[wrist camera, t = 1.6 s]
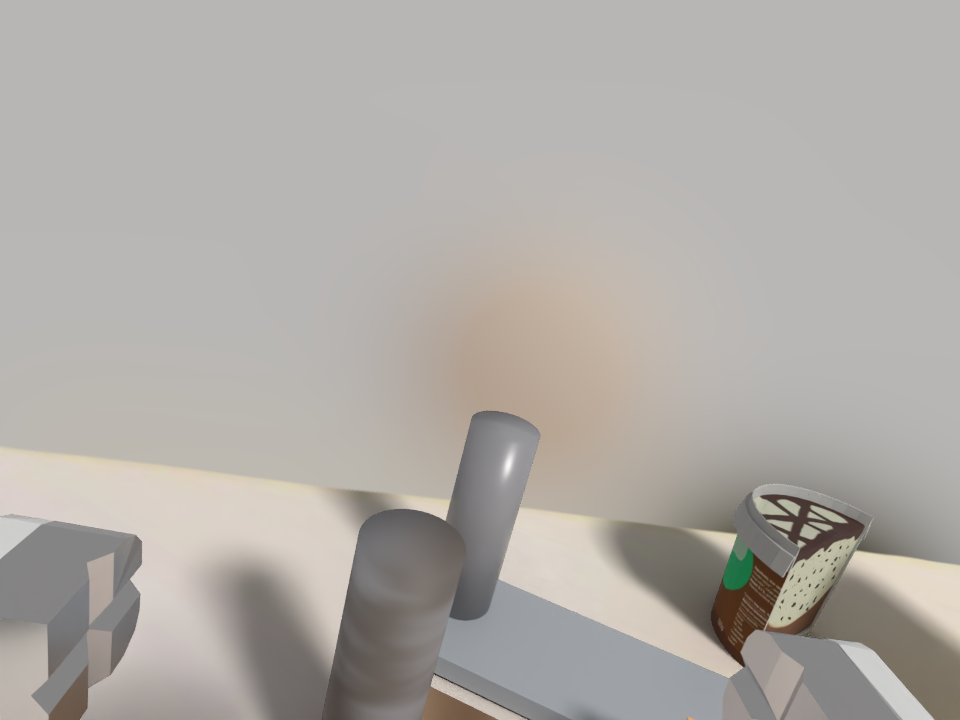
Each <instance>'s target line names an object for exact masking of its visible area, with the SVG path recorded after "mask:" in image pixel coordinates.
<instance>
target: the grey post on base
mask: <svg viewBox="0 0 960 720" xmlns="http://www.w3.org/2000/svg"><path fill="white" fill-rule="evenodd" d="M539 440H540V433H539V431H538V429H537V428H536V427H535V426H534V425H532V424H531V423H529V422H528V421H526V420H524V419H522V418H520V417H517V416H515V415H511V414H508V413H504V412H498V411H482V412H478V413H476V414H474V415H473V416H472V419H471V423H470V427H469V431H468V435H467V439H466V442H465V446H464V450H463V455H462V458H461V462H460V466H459V470H458V474H457V478H456V482H455V486H454V490H453V494H452V498H451V502H450V506H449V510H448V514H447V517H446V522H447V523H449V524H450V525H451V526H453V527H454V528H455V529H456V530H457V531H458V532H459V534H460V535H461V536H462V538H463V540H464V543H465V545H466V556H465V560H464V564H463V568H462V571H461V575H460V579H459V582H458V586H457V590H456V593H455V597H454V601H453V604H452V608H451V612H450V615H449V619H448V623H447V626H446V630H445V634H444V638H443V641H442V645H441V649H440V652H439V656H438V660H437V663H436V667H435V671H434V673H435V674H437V675H439V676H441V677H444V678H446V679H448V680H450V681H452V682H454V683H456V684H458V685H460V686H462V687H464V688H466V689H468V690H471V691H473V692H475V693H477V694H479V695H481V696H483V697H485V698H487V699H489V700H491V701H493V702H495V703H497V704H500V705H502V706H504V707H506V708H508V709H510V710H512V711H514V712H516V713H518V714H520V715H522V716H524V717H526V718H529V719H531V720H687V718H688V717H690V718H693V719H695V720H722V715H723V695H724V692H725V690H726V687H727V684H728V681H729V678H727V677H724V676H722V675H720V674H717V673H715V672H713V671H710V670H708V669H706V668H703V667H701V666H699V665H696V664H694V663H692V662H689V661H687V660H685V659H682V658H680V657H678V656H675V655H673V654H671V653H668V652H666V651H664V650H661V649H659V648H657V647H654V646H652V645H650V644H647V643H645V642H643V641H640V640H638V639H636V638H633V637H631V636H629V635H626V634H624V633H622V632H619V631H617V630H615V629H612V628H610V627H608V626H605V625H603V624H601V623H598V622H596V621H594V620H591V619H589V618H587V617H584V616H582V615H580V614H577V613H575V612H573V611H570V610H568V609H566V608H563V607H561V606H559V605H556V604H554V603H552V602H549V601H547V600H545V599H542V598H540V597H538V596H535V595H533V594H531V593H528V592H526V591H524V590H521V589H519V588H517V587H514V586H512V585H510V584H507V583H505V582H503V581H500V580H498V577H499V574H500V571H501V567H502V564H503V561H504V557H505V554H506V551H507V547H508V544H509V540H510V537H511V534H512V530H513V527H514V524H515V520H516V517H517V514H518V510H519V507H520V503H521V500H522V497H523V493H524V490H525V487H526V483H527V479H528V476H529V473H530V470H531V466H532V463H533V460H534V456H535V453H536V449H537V446H538V443H539Z"/></svg>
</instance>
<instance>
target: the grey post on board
mask: <svg viewBox="0 0 960 720" xmlns="http://www.w3.org/2000/svg"><path fill="white" fill-rule="evenodd" d="M465 556H466V545H465V543H464V540H463V538H462V536H461V535H460V534H459V532H458V531H457V530H456V529H455V528H454V527H453V526H451V525H450V524H449V523H447V522H446V521H444V520H442V519H441V518H439V517H436V516H434V515H431V514H429V513H425V512H422V511H417V510H410V509H394V510H388V511H383V512H380V513H378V514H375V515H373V516H372V517H370V518H369V519H368V520H366V521H365V522H364V524H363V525H362V527H361V528H360V531H359V535H358V540H357V545H356V550H355V555H354V560H353V565H352V570H351V575H350V580H349V585H348V590H347V595H346V600H345V605H344V610H343V615H342V620H341V625H340V630H339V635H338V640H337V645H336V650H335V655H334V660H333V665H332V670H331V675H330V680H329V685H328V690H327V695H326V700H325V705H324V710H323V715H322V720H498V719H496V718H494V717H491V716H489V715H487V714H485V713H483V712H481V711H479V710H477V709H475V708H473V707H471V706H469V705H467V704H465V703H463V702H461V701H459V700H457V699H455V698H453V697H451V696H449V695H447V694H444V693H442V692H440V691H438V690H436V689H434V688H432V687H430V685H431V682H432V678H433V674H434V671H435V667H436V663H437V660H438V656H439V652H440V649H441V645H442V641H443V638H444V634H445V630H446V626H447V623H448V619H449V615H450V612H451V608H452V604H453V601H454V597H455V593H456V590H457V586H458V582H459V579H460V575H461V571H462V568H463V564H464V560H465Z"/></svg>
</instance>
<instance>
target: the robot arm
mask: <svg viewBox="0 0 960 720" xmlns="http://www.w3.org/2000/svg"><path fill="white" fill-rule="evenodd" d="M141 564H142V541H141V540H140V539H139V538H138V537H137V536H136V535H133V534H127V533H122V532H116V531H110V530H104V529H99V528H93V527H87V526H81V525H76V524H70V523H64V522H58V521H49V520H45V519H38V518H32V517H26V516H20V515H14V514H10V515H5V516H0V720H79V719H80V718H81V717H82V715H83V714H84V712H85V711H86V709H87V702H88V688H89V687H91V686H92V685H94V684H96V683H98V682H99V681H101V680H103V679H105V678H106V677H108V676H110V675H111V673H112V672H113V670H114V669H115V667H116V666H117V664H118V663H119V661H120V660H121V658H122V657H123V655H124V653H125V651H126V649H127V647H128V644H129V642H130V640H131V638H132V635H133V633H134V631H135V627H136V623H137V618H138V614H139V607H140V593H139V591H138V590H137V589H136V587H135V586H134V584H133V583H132V582H131V580H130V578H131V577H132V576H133V574H134V573H135V572H136V571H137V569H138V568H139V567H140V566H141ZM741 655H742V658H743V660H744V663H745V667H744V668H743V669H741V670H740V671H739V672H737V673H736V674H734V675H733V676H732V677H730V679H729V681H728V684H727V687H726V690H725V692H724V695H723V715H722V720H934V719H933V717H932V716H931V715H930V714H929V713H928V712H927V711H926V709H925V708H924V707H923V706H922V705H921V704H920V703H919V702H918V700H917V699H916V698H915V697H914V696H913V695H912V694H911V692H910V691H909V690H908V689H907V688H906V687H905V686H904V685H903V683H902V682H901V681H900V680H899V679H898V678H897V677H896V675H895V674H894V673H893V672H892V671H891V670H890V669H889V668H888V666H887V665H886V664H885V663H884V662H883V661H882V660H881V658H880V657H879V656H878V655H877V654H876V653H875V652H874V651H873V650H872V649H870V648H868V647H867V646H865V645H863V644H862V643H858V642H850V641H842V640H834V639H817V638H811V637H804V636H797V635H790V634H783V633H776V632H769V631H763V630H755V631H754V632H753V633H752V634H750V635H749V636H748V637H747V639H746V641H745V643H744V646H743V648H742V650H741Z"/></svg>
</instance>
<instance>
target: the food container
mask: <svg viewBox="0 0 960 720" xmlns="http://www.w3.org/2000/svg"><path fill="white" fill-rule="evenodd" d="M872 520H873V516H871V515H869V514H867V513H865V512H863V511H861V510H859V509H857V508H855V507H853V506H851V505H849V504H847V503H844V502H842V501H840V500H837V499H835V498H832V497H829V496H826V495H824V494H821V493H817V492H815V491H811V490H808V489H804V488H800V487H796V486H790V485H783V484H767V485H762V486H760V487H757V488H756V489H755V490H754V491H753V492H751V493H750V494H748V495H747V496H746V498H745V499H744V500H743V501H742V503H741V504H740V505H739V507H738V508H737V509H736V510H735V512H734V515H733V523H734V526H735V529H736V531H737V533H738V534H737V537H736V540H735V543H734V546H733V549H732V552H731V555H730V558H729V561H728V564H727V567H726V570H725V573H724V576H723V579H722V582H721V585H720V588H719V591H718V594H717V597H716V600H715V603H714V606H713V609H712V612H711V620H712V625H713V628H714V630H715V632H716V634H717V636H718V638H719V639H720V641H721V643H722V644H723V645H724V647H725V648H726V649H727V651H728V652H729V653H730V654H731V655H732V656H733V657H734V658H735V659H736V660H737V661H738V662H739V663H740V664H741V665H742V666H743V667H745V663H744V660H743V658H742V655H741V650H742V648H743V646H744V643H745V641H746V639H747V637H748V636H749V635H750V634H752V633H753V632H754V631H755V630H763V631H769V632H776V633H783V634H790V635H797V636H802V635H803V634H805V633H807V632H808V631H810V630H811V629H812V627H813V625H814V624H815V622H816V620H817V618H818V616H819V615H820V613H821V611H822V609H823V608H824V606H825V604H826V602H827V600H828V599H829V597H830V595H831V593H832V591H833V590H834V588H835V586H836V584H837V583H838V581H839V579H840V577H841V575H842V574H843V572H844V570H845V568H846V566H847V565H848V563H849V561H850V559H851V558H852V556H853V554H854V552H855V550H856V549H857V547H858V545H859V543H860V541H861V540H862V539H863V540H864V539H865V537H866V535H867V533H868V530H869V528H870V526H871V522H872Z"/></svg>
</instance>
